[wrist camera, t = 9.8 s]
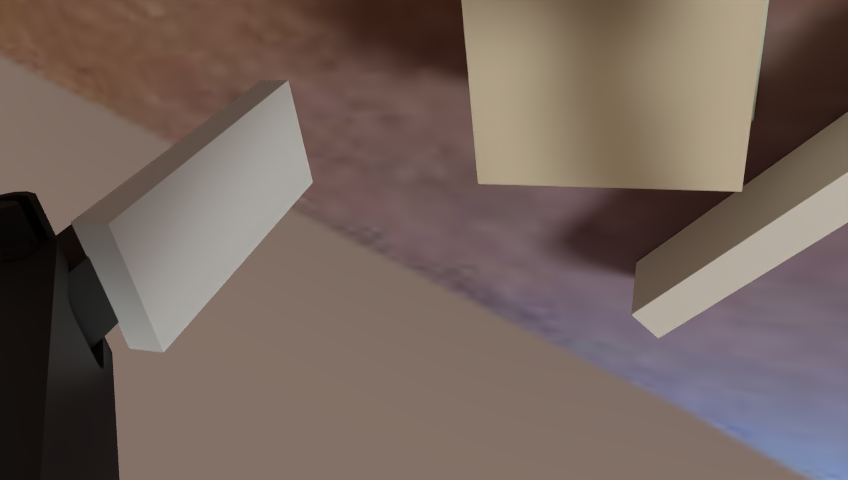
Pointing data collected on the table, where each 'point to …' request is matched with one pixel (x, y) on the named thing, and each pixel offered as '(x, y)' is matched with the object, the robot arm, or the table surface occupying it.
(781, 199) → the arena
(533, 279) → the table surface
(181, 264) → the robot arm
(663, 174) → the birch cube
